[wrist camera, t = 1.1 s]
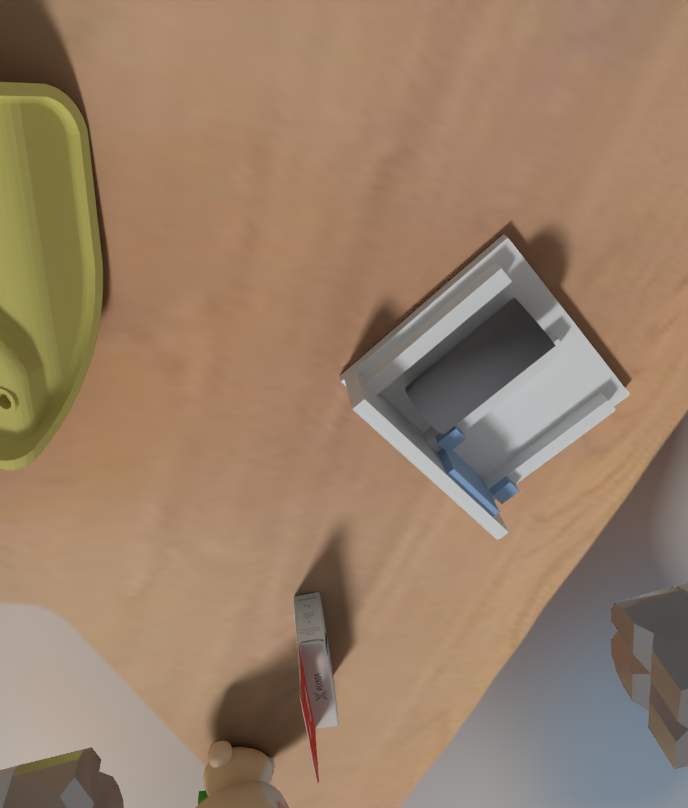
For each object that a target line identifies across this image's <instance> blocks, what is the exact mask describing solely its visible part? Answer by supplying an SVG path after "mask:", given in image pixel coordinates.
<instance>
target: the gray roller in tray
mask: <svg viewBox="0 0 688 808" xmlns="http://www.w3.org/2000/svg"><path fill="white" fill-rule="evenodd" d="M555 346H556V345H555V344H554V343H553V341H552V340H551V339H550V337H549V336H548V335H547V334H546V333H545V331H544V330H543V329H542V328H541V327H540V325H539V324H538V323H537V322H536V321H535V319H534V318H533V317H532V316H531V315H530V314H529V313H528V311H527V310H526V309H525V308H524V307H523V306H522V305H521V304H520V303H519V302H518V300H517V299H516V298H513V299H512V300H510V301H509V302H508V303H507V304H506V305H504V306H503V307H502V308H501V309H500V310H498V311H497V312H496V313H495V314H494V315H492V316H491V317H490V318H489V319H488V320H486V321H485V322H484V323H483V324H482V325H480V326H479V327H478V328H477V329H476V330H474V331H473V332H472V333H471V334H470V335H468V336H467V337H466V338H465V339H464V340H462V341H461V342H460V343H459V344H458V345H456V346H455V347H454V348H453V349H452V350H450V351H449V352H448V353H447V354H446V355H444V356H443V357H442V358H441V359H439V360H438V361H437V362H436V363H435V364H433V365H432V366H431V367H430V368H429V369H427V370H426V371H425V372H424V373H423V374H421V375H420V376H419V377H418V378H417V379H415V380H414V381H413V382H412V383H411V384H409V385H408V386H407V387H406V388H405V390H406V393H407V395H408V397H409V398H410V400H411V401H412V403H413V404H414V406H415V407H416V408H417V410H418V411H419V412H420V414H421V415H422V416H423V417H424V418H425V419H426V421H427V422H428V423H429V424H430V425H431V426H432V427H433V428H434V429H436V430H437V431H438V432H439V433H441V434H445V433H446V432H448V431H449V430H450V429H451V428H453V427H454V426H455V425H456V424H458V423H459V422H460V421H461V420H463V419H464V418H465V417H466V416H468V415H469V414H470V413H472V412H473V411H474V410H475V409H477V408H478V407H479V406H480V405H482V404H483V403H484V402H485V401H487V400H488V399H489V398H490V397H492V396H493V395H494V394H495V393H497V392H498V391H499V390H501V389H502V388H503V387H504V386H506V385H507V384H508V383H509V382H511V381H512V380H513V379H514V378H516V377H517V376H518V375H519V374H521V373H522V372H523V371H525V370H526V369H527V368H528V367H530V366H531V365H532V364H533V363H535V362H536V361H537V360H538V359H540V358H541V357H542V356H543V355H545V354H546V353H547V352H549V351H550V350H551V349H552V348H554V347H555Z"/></svg>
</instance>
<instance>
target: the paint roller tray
mask: <svg viewBox="0 0 688 808" xmlns="http://www.w3.org/2000/svg"><path fill="white" fill-rule="evenodd" d="M513 298H516V299H517V300H518V302H519V303H520V304H521V305H522V306H523V307H524V308H525V309H526V310H527V311H528V313H529V314H530V315H531V316H532V317H533V318H534V319H535V321H536V322H537V323H538V324H539V325H540V327H541V328H542V329H543V330H544V331H545V333H546V334H547V335H548V336H549V337H550V339H551V340H552V341H553V343H554V344H555V345H556V346H555V347H554V348H552V349H551V350H550V351H549V352H547V353H546V354H545V355H543V356H542V357H541V358H540V359H538V360H537V361H536V362H535V363H533V364H532V365H531V366H530V367H528V368H527V369H526V370H525V371H523V372H522V373H521V374H519V375H518V376H517V377H516V378H514V379H513V380H512V381H511V382H509V383H508V384H507V385H506V386H504V387H503V388H502V389H501V390H499V391H498V392H497V393H495V394H494V395H493V396H492V397H490V398H489V399H488V400H487V401H485V402H484V403H483V404H482V405H480V406H479V407H478V408H477V409H475V410H474V411H473V412H472V413H470V414H469V415H468V416H466V417H465V418H464V419H463V420H461V421H460V422H459V423H458V424H456V425H455V426H454V427H453V428H451V429H450V430H449V431H448V432H446V433H445V434H441V433H439V432H438V431H437V430H436V429H434V428H433V427H432V426H431V425H430V424H429V423H428V422H427V421H426V419H425V418H424V417H423V416H422V415H421V414H420V412H419V411H418V410H417V408H416V407H415V406H414V404H413V403H412V401H411V400H410V398H409V397H408V395H407V393H406V390H405V388H406V387H407V386H408V385H409V384H411V383H412V382H413V381H414V380H415V379H417V378H418V377H419V376H420V375H421V374H423V373H424V372H425V371H426V370H427V369H429V368H430V367H431V366H432V365H433V364H435V363H436V362H437V361H438V360H439V359H441V358H442V357H443V356H444V355H446V354H447V353H448V352H449V351H450V350H452V349H453V348H454V347H455V346H456V345H458V344H459V343H460V342H461V341H462V340H464V339H465V338H466V337H467V336H468V335H470V334H471V333H472V332H473V331H474V330H476V329H477V328H478V327H479V326H480V325H482V324H483V323H484V322H485V321H486V320H488V319H489V318H490V317H491V316H492V315H494V314H495V313H496V312H497V311H498V310H500V309H501V308H502V307H503V306H504V305H506V304H507V303H508V302H509V301H510V300H512V299H513ZM340 380H341V382H342V383H343V384H344V385H345V386H346V387H347V391H348V395H349V398H350V402H351V406H352V409H353V410H354V411H355V412H356V413H357V414H358V415H360V416H361V417H362V418H363V419H364V420H365V421H366V422H367V423H368V424H369V425H371V426H372V427H373V428H374V429H375V430H376V431H377V432H378V433H379V434H381V435H382V436H383V437H384V438H385V439H386V440H387V441H388V442H389V443H391V444H392V445H393V446H394V447H395V448H396V449H397V450H398V451H399V452H400V453H402V454H403V455H404V456H405V457H406V458H407V459H408V460H409V461H410V462H412V463H413V464H414V465H415V466H416V467H417V468H418V469H419V470H420V471H422V472H423V473H424V474H425V475H426V476H427V477H428V478H429V479H430V480H432V481H433V482H434V483H435V484H436V485H437V486H438V487H439V488H440V489H441V490H443V491H444V492H445V493H446V494H447V495H448V496H449V497H450V498H451V499H453V500H454V501H455V502H456V503H457V504H458V505H459V506H460V507H461V508H463V509H464V510H465V511H466V512H467V513H468V514H469V515H470V516H471V517H472V518H474V519H475V520H476V521H477V522H478V523H479V524H480V525H481V526H482V527H484V528H485V529H486V530H487V531H488V532H489V533H490V534H491V535H492V536H494V537H495V538H496V539H497V540H499V539H500V538H502V537H503V536H504V535H506V534H507V533H508V530H507V528H506V526H505V524H504V522H503V520H502V518H501V516H500V514H499V512H500V511H499V510H498V508H497V506H496V504H495V502H494V500H495V499H497V500H498V501H499V502H500V503H501V504H503V503H504V502H505V501H507V500H508V499H509V498H511V497H512V496H513V495H515V494H516V493H518V492H519V490H518V488H517V487H516V484H517V483H518V482H520V481H521V480H522V479H524V478H525V477H526V476H528V475H529V474H530V473H532V472H533V471H535V470H536V469H537V468H539V467H540V466H541V465H543V464H544V463H545V462H547V461H548V460H549V459H551V458H552V457H553V456H555V455H556V454H557V453H559V452H560V451H562V450H563V449H564V448H566V447H567V446H568V445H570V444H571V443H572V442H574V441H575V440H576V439H578V438H579V437H580V436H582V435H583V434H584V433H586V432H587V431H589V430H590V429H591V428H593V427H594V426H595V425H597V424H598V423H599V422H601V421H602V420H603V419H605V418H606V417H607V416H609V415H610V414H611V413H613V412H614V411H616V409H615V408H614V406H615V405H617V404H618V403H619V402H621V401H622V400H623V399H625V398H626V397H628V396H629V395H630V394H629V392H628V391H627V390H626V389H625V387H624V386H623V385H622V383H621V382H620V381H619V380H618V378H617V377H616V376H615V374H614V373H613V372H612V371H611V369H610V368H609V367H608V365H607V364H606V363H605V362H604V360H603V359H602V358H601V356H600V355H599V354H598V353H597V351H596V350H595V349H594V347H593V346H592V345H591V344H590V342H589V341H588V340H587V338H586V337H585V336H584V335H583V333H582V332H581V331H580V329H579V328H578V327H577V326H576V324H575V323H574V322H573V320H572V319H571V318H570V317H569V315H568V314H567V313H566V311H565V310H564V309H563V308H562V306H561V305H560V304H559V302H558V301H557V300H556V299H555V297H554V296H553V295H552V293H551V292H550V291H549V290H548V288H547V287H546V286H545V284H544V283H543V282H542V280H541V279H540V278H539V277H538V275H537V274H536V273H535V271H534V270H533V269H532V268H531V266H530V265H529V264H528V262H527V261H526V260H525V259H524V257H523V256H522V255H521V253H520V252H519V251H518V250H517V248H516V247H515V246H514V244H513V243H512V242H511V241H510V239H509V238H508V237H507V236H506V235H504V234H503V235H502V236H501V237H499V238H498V239H497V240H496V241H495V242H494V243H492V244H491V245H490V246H489V247H488V248H487V249H486V250H484V251H483V252H482V253H481V254H480V255H479V256H477V257H476V258H475V259H474V260H473V261H472V262H471V263H469V264H468V265H467V266H466V267H465V268H464V269H463V270H461V271H460V272H459V273H458V274H457V275H456V276H454V277H453V278H452V279H451V280H450V281H449V282H448V283H446V284H445V285H444V286H443V287H442V288H441V289H439V290H438V291H437V292H436V293H435V294H434V295H433V296H431V297H430V298H429V299H428V300H427V301H426V302H424V303H423V304H422V305H421V306H420V307H419V308H418V309H416V310H415V311H414V312H413V313H412V314H411V315H409V316H408V317H407V318H406V319H405V320H404V321H403V322H401V323H400V324H399V325H398V326H397V327H396V328H394V329H393V330H392V331H391V332H390V333H389V334H388V335H386V336H385V337H384V338H383V339H382V340H381V341H379V342H378V343H377V344H376V345H375V346H374V347H373V348H371V349H370V350H369V351H368V352H367V353H366V354H364V355H363V356H362V357H361V358H360V359H359V360H358V361H356V362H355V363H354V364H353V365H352V366H351V367H350V368H348V369H347V370H346V371H345V372H344V373H343V374H341V375H340Z"/></svg>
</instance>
